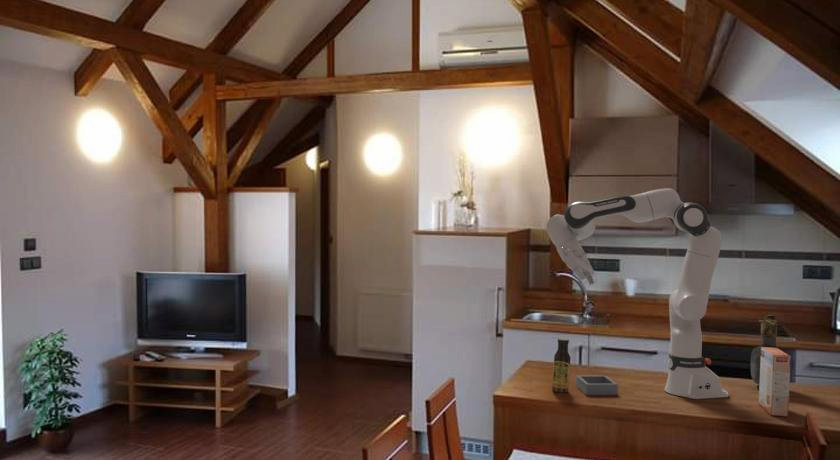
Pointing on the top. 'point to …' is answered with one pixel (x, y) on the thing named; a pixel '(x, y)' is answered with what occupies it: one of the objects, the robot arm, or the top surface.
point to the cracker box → (774, 381)
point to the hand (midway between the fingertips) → (588, 281)
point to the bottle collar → (597, 385)
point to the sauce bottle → (561, 367)
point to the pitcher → (764, 344)
